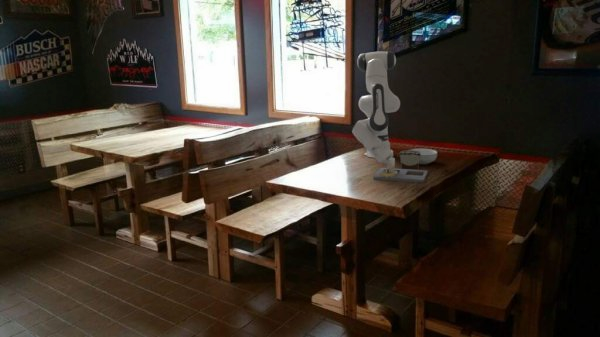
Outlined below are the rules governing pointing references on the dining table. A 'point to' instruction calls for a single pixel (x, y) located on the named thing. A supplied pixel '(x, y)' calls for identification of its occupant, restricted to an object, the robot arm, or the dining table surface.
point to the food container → (410, 159)
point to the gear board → (401, 175)
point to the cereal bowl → (426, 155)
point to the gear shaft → (392, 167)
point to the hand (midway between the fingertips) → (392, 164)
